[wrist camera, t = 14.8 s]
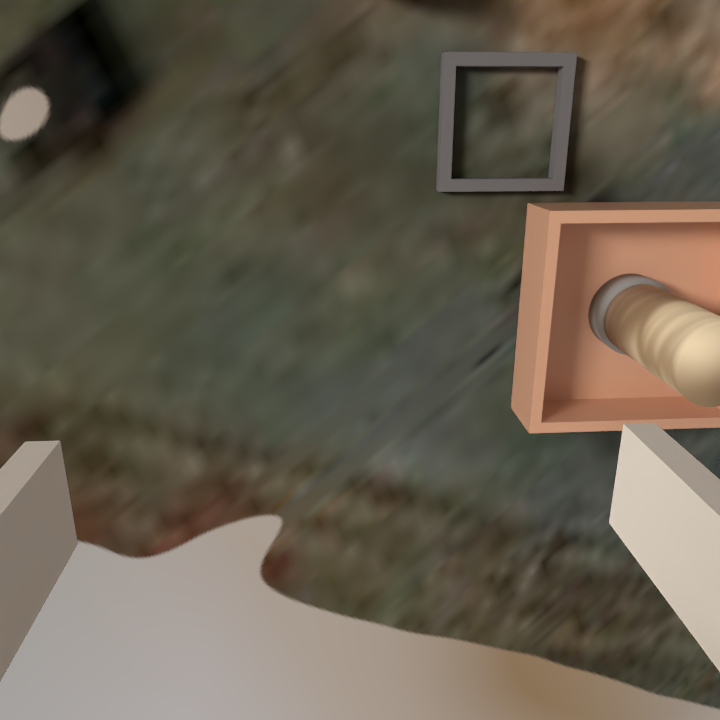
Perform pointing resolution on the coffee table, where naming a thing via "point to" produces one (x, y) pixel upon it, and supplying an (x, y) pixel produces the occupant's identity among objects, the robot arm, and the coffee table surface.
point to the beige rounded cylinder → (661, 334)
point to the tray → (572, 301)
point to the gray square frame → (560, 122)
